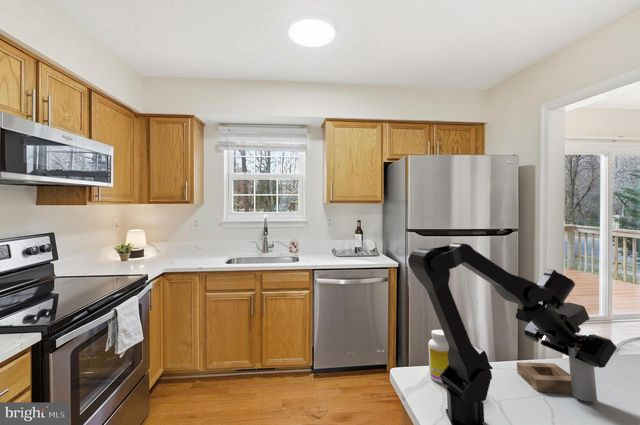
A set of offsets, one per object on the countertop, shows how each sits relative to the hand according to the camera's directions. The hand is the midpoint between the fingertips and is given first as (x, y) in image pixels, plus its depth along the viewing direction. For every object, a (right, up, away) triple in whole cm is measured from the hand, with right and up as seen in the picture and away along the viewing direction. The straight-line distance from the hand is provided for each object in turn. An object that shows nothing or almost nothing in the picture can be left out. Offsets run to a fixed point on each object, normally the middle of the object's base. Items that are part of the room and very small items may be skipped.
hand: (585, 361), depth 75 cm
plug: (-1, -8, -1) cm, 8 cm away
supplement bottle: (-31, -11, +11) cm, 34 cm away
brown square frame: (-4, -10, +8) cm, 13 cm away
